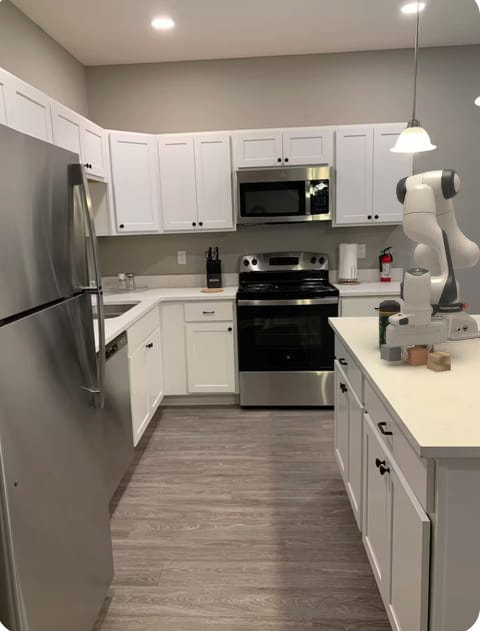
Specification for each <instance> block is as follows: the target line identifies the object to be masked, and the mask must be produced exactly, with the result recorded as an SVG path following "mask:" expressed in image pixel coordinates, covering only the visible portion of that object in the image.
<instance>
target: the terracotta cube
mask: <svg viewBox="0 0 480 631" xmlns="http://www.w3.org/2000/svg"><path fill="white" fill-rule="evenodd" d="M406 351H407V352H408V353H410V358H408V359H405V362H406V363H407V364H409V365H410V364H411V366H412V367H413V365H414V366H427V350H426V349H424V348H422V347H415V346H407V349H406Z"/></svg>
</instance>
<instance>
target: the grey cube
mask: <svg viewBox="0 0 480 631" xmlns="http://www.w3.org/2000/svg"><path fill="white" fill-rule="evenodd" d="M402 352H403V351H402V349H401V346H399V347H390V346H389V345H387V344H384V345H381V349H380V359H381V360H383V361H386V362H396V361H402Z"/></svg>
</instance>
